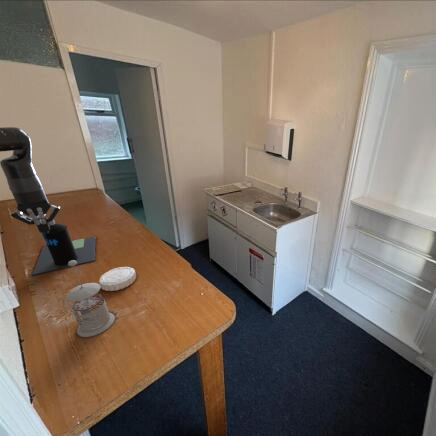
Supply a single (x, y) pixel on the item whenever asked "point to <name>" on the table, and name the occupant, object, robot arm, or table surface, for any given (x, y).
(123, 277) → the mooncake
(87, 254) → the board
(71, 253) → the aerosol can
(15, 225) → the table surface
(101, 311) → the french press
